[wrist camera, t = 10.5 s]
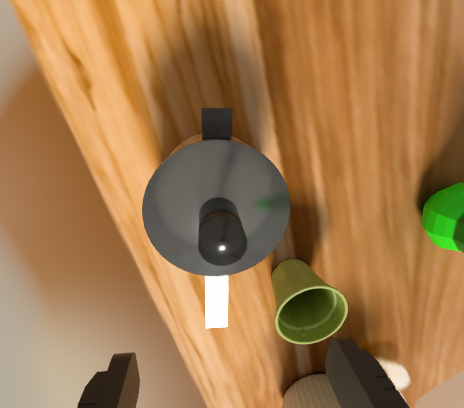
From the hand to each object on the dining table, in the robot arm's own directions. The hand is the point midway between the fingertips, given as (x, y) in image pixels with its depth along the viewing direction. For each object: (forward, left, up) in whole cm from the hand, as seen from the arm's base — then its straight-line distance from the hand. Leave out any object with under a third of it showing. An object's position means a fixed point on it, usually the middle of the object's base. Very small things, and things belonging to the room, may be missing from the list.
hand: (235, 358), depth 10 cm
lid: (0, 0, -15) cm, 15 cm away
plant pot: (+15, +12, -25) cm, 31 cm away
